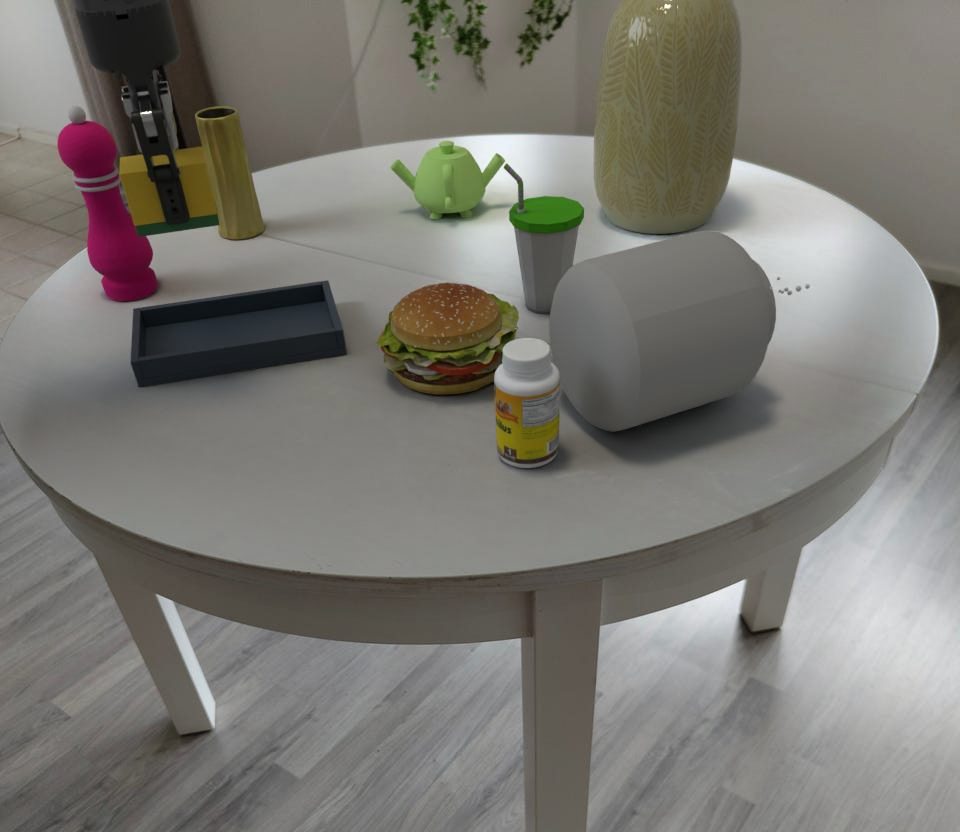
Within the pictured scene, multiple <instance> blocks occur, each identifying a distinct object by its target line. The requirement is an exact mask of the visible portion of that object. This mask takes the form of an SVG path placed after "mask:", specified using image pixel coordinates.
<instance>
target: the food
mask: <svg viewBox="0 0 960 832" xmlns="http://www.w3.org/2000/svg"><path fill="white" fill-rule="evenodd" d="M519 315H520V313H519V310H518V308H517V307H516V306H515V305H511V304H510V303H509V302H508V301H505V300H502V299H501V298H499V297H497V296H496V294H494V293H489V292H487V291H485V290H484V289H481V288H478V287H477V286H473V285H470V284H465V283H457V282H440V283H435V284H428V285H425V286H423V287H420V288H418V289H415V290H414V291H410V292H409V293H408V294H407V295H405V296H404V297H402V298H401V299H400V301H398V302H397V303H396V304H395V305H394V307H393V309H392V310H391V311H390V312H389V313H388V323H386V324H385V326H384V329H383V331H382V332H381V333H380V335H379V338H378V339H376V341H375V343H376V345H377V346H378V347H380V351H381V352H382V353H384V355H383V364H384V366H385V367H386V369H387V370H388V371H391V372H393V374H394V376H395V377H396V378H397V380H398V381H400V382H401V384H402V385H403V386H404V387H406V388H408V389H411V390H414V391H416V392H419V393H424V394H429V395H435V396H439V395H459V394H465V393H469V392H473V391H477V390H479V389H482V388H484V387H486V386H488V385H490V384H491V383H494V375H495V371H496V370H497V368H498V367H499V366H500V365H501V364H502V359H503V347H504V346H505V345H506V344H507V343H508V342H510V341H513V340H516V335H517V331H518V329H519V327H518V321H519V319H520V316H519Z"/></svg>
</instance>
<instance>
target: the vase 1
mask: <svg viewBox="0 0 960 832" xmlns="http://www.w3.org/2000/svg"><path fill="white" fill-rule="evenodd" d="M194 118H195V122H196V126H197V131H198V135H199V138H200V139H199V140H200V144H201V147H202V148H203V152H204V156H205V161H206V165H207V169H208V173H209V177H210V182H211V186H212V190H213V194H214V198H215V202H216V207H217V212H218V218H219V224H220V225H217V229H218V230H217V231H218V234H219V235H220V236H221V237H222V238H224V239H228V240H245V239H246V240H247V239H251V238H253V237H256V236H258V235H260V234H262V233H263V232H264V231H265V229H266V225H265V222H264V219H263V216H262V212H261V207H260V203H259V199H258V195H257V192H256V187H255V182H254V179H253V174H252V169H251V165H250V161H249V157H248V152H247V147H246V143H245V139H244V138H245V137H244V134H243V129H242V124H241V118H240V113H239V110H238V109H237V108H236V107H233V106H229V105H217V106H211V107H210V106H209V107H207V108H203V109H201V110H198V111H196V113H195V114H194Z"/></svg>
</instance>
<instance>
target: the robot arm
mask: <svg viewBox="0 0 960 832" xmlns="http://www.w3.org/2000/svg"><path fill="white" fill-rule="evenodd" d="M71 3H72V5H73V10H74V12H75V16H76V19H77V22H78V27H79V29H80V32H81V36H82V39H83V43H84V47H85V49H86V52H87V53H86V54H87V57H88V60H89V62H90V65H91V66H92V67H93V68H94V69H96V70H98V71H100V72H103V73H109V74H113V73H120V74H122V75H123V76H124V77H125V81H126V85H125V86H121V91H122V94H121V95H120V96H121V101H122V104H123V109H124V112H125V115H126V116H128V118H129V119H130V123H131V128H132V131H133V135H134V139H135V143H136V146H137V149H138V151H139V152H140V153H141V155H142V154H143V157H144V160H145V163H146V167H147V170H148V172H147V175H148V178H150V180H151V182H153V183H155V185H156V189H157V192H158V196H159V199H160V203H161V206H162V210H163V214H164V217H165V220H166V222H167V223H168V224H170V225H174V224H181V223H187V222H188V221H189V220H190V215H189V211H188V207H187V203H186V199H185V195H184V191H183V188H182V184H181V180H180V179H181V177H180V174H181V170H180V168H179V167H178V164H177V160H176V156H175V150H180V149H179V141H178V137H177V134H178V129H177V128H178V127H177V123H176V119H175V115H174V112H173V111H174V110H173V109H174V107H173V99H172V93H171V90H170V86H169V83H168V80H165V81H163V78H162V77H163V76H162V74H160V72H159V70H158V69H157V68H163V67H167V66H169V65H171V64H173V63H175V62H176V61H177V60H178V59H179V58H180V57H181V53H182V52H181V46H180V45H181V44H180V41H179V37H178V33H177V29H176V25H175V20H174V17H173V12H172V8H171V4H170V0H71ZM159 155H166V156H167V157H168V159H169V163H170V164H162V165H155V164H154V160H153V157H152V156H159Z"/></svg>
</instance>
